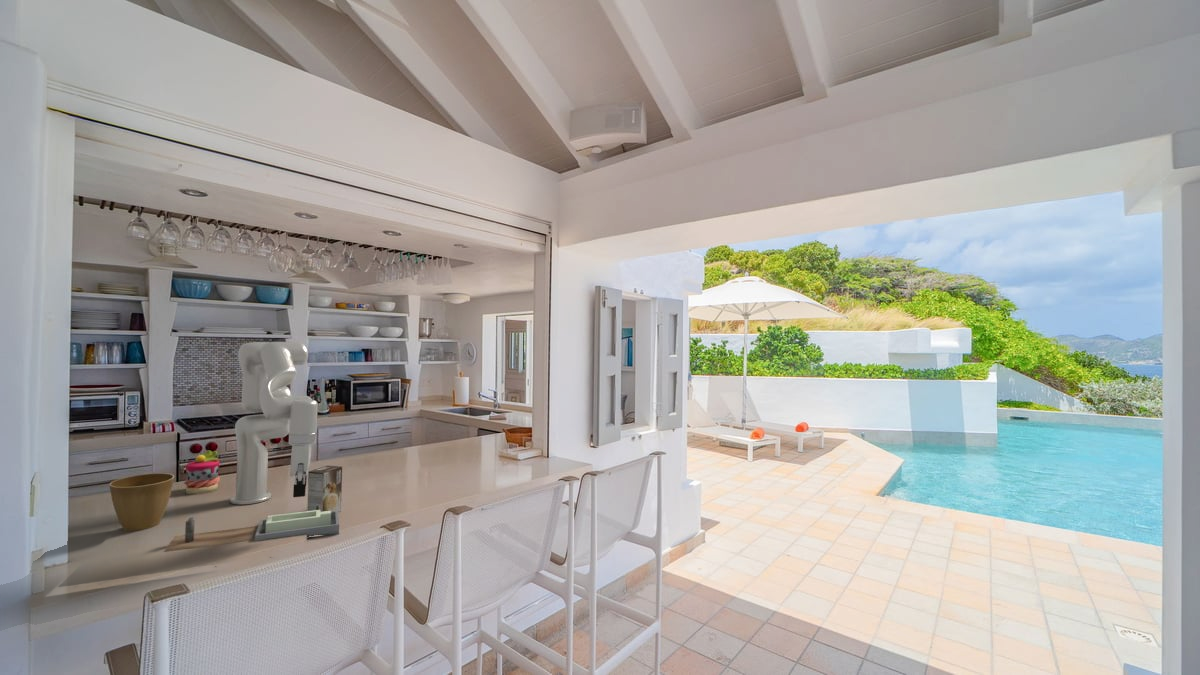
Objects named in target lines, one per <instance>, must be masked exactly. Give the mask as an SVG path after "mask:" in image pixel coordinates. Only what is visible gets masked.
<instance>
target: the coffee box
mask: <svg viewBox="0 0 1200 675" xmlns="http://www.w3.org/2000/svg"><path fill="white" fill-rule="evenodd" d="M307 479H308V480H307V511H313V510H320V512H324V511H338V513H340V512H342V492H343V491H342V490H343V489H342V488H343V485H342V484H343V483H342V482H343V466H339V465H324V466H322V467H319V468H315V469H311V470H309V471H308V475H307Z"/></svg>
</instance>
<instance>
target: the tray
mask: <svg viewBox="0 0 1200 675" xmlns="http://www.w3.org/2000/svg"><path fill="white" fill-rule="evenodd" d="M266 522H267V518H265V519H260V520H259V524H258V526H257V529H256V532H255V536H254V541H255V542H257V541H264V540H271V539H278V538H286V537H292V536H301V535H306V538H307V537H309V536H314V535H325V536H324V537H326V536H334V535H340V517H339V512H338V511H331V525H325V526H317V527H310V528H302V529H294V530H287V531H279V532H272V533H266V532H265V533H262V529H263V526H266Z"/></svg>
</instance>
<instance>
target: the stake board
mask: <svg viewBox="0 0 1200 675" xmlns="http://www.w3.org/2000/svg"><path fill="white" fill-rule="evenodd" d="M256 528H257V526H248V527H247V526H246V527H240V528H239V527H238V528H231V529H230V528H229V529H222V530H216V531H214V530H213V531H209V532H208V531H206V532H201V533H200V532H198V533H195V520H194V516H191V517H189V518H188V519H187V520H186V521H185V527H184V529H185V531H184V533H185V534H184V535H183V534H182V535H176V536H174V537H173V538H172V539H171V542H169V544H168V545H167V547H166V548H165V549H164V551H163V553H167V552H174V551H181V550H182V551H183V550H189V549H197V548H204V547H212V546H219V545H220V546H221V545H226V544H232V543H233V544H234V543H240V542H247V541H252V539H253V537H254V533H255V531H256Z"/></svg>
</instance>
